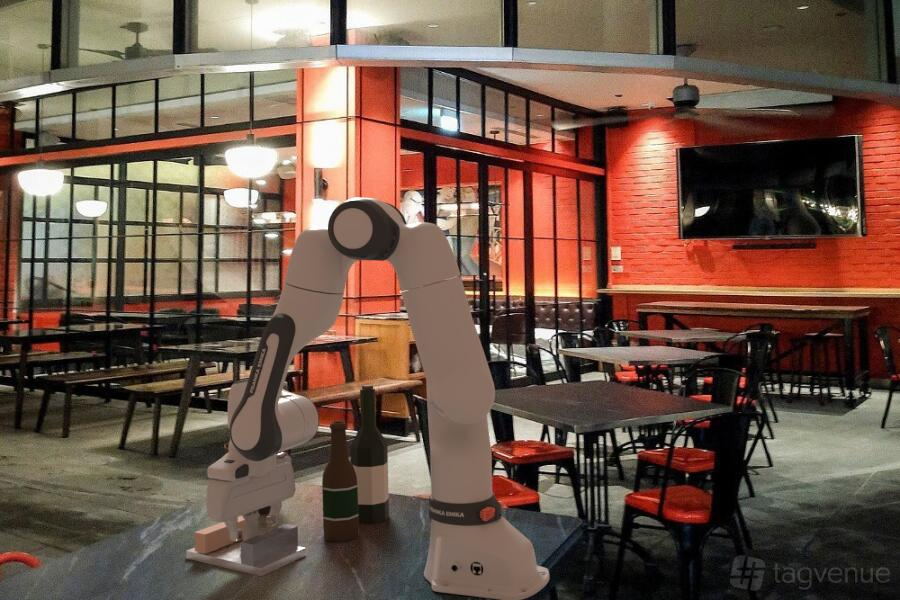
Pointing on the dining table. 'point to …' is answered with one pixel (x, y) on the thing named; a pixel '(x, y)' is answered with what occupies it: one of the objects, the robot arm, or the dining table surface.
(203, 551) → the block
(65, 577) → the dining table surface
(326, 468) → the beer bottle
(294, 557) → the vise base
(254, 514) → the rook chess piece
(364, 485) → the wine bottle
